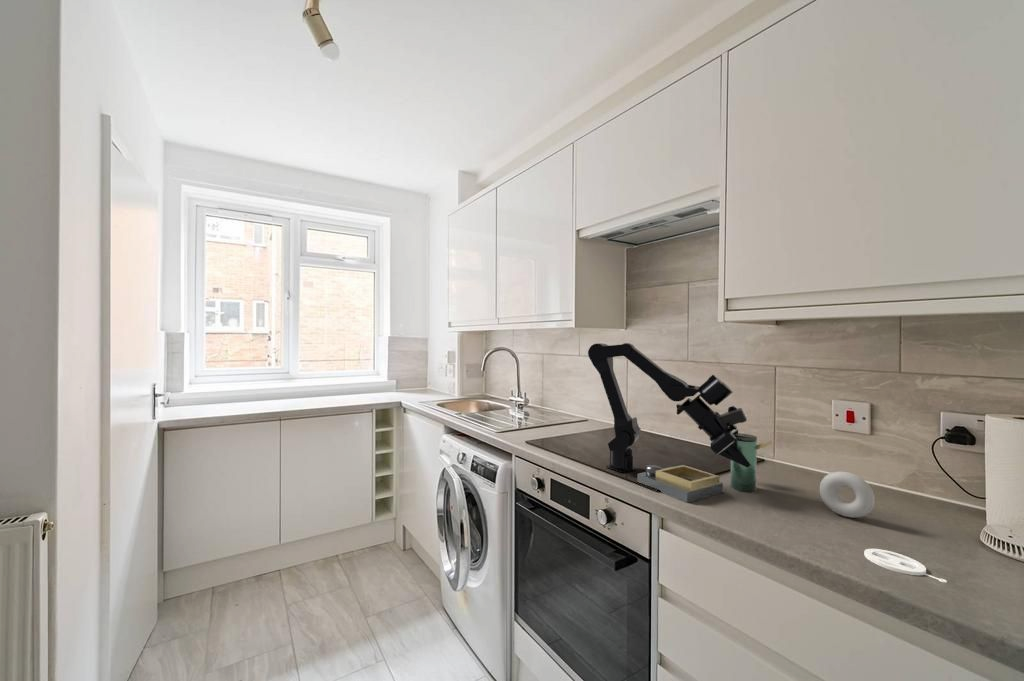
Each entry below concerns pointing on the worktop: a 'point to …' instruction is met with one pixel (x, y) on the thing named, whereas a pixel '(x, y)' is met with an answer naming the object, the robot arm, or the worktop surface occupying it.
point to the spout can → (743, 475)
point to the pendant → (896, 562)
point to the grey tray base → (681, 482)
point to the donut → (856, 484)
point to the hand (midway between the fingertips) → (749, 461)
